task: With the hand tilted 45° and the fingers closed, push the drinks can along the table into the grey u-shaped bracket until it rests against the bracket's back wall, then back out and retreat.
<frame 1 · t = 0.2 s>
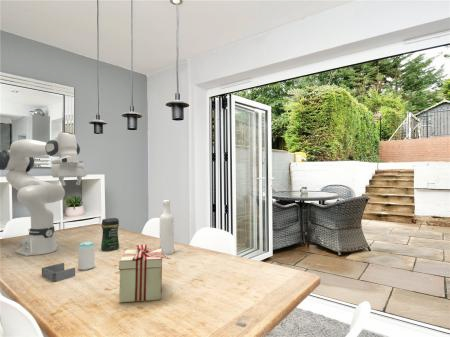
hand: (71, 185, 155), 39 cm above the table, tool pointing down, fingers open, 8 cm apart
coffee jar: (110, 249, 167), on the table
gift box: (145, 292, 108), on the table
grey u-shaped bracket: (59, 275, 125), on the table
bottle: (166, 253, 158), on the table
can: (86, 268, 135), on the table
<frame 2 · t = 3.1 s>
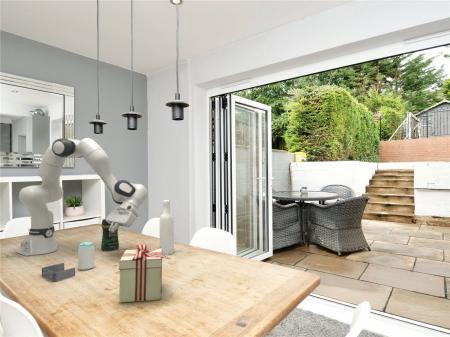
hand: (110, 231, 145), 16 cm above the table, tool tilted 45°, fingers closed
nothing on the table moved.
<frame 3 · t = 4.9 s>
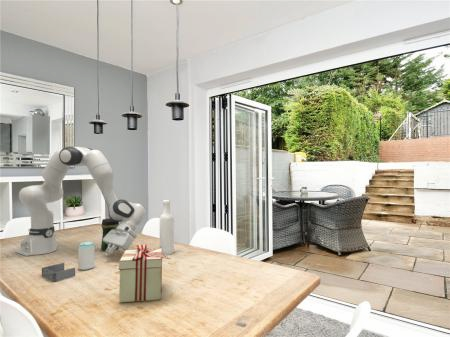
hand: (107, 252, 143), 5 cm above the table, tool tilted 45°, fingers closed
nothing on the table moved.
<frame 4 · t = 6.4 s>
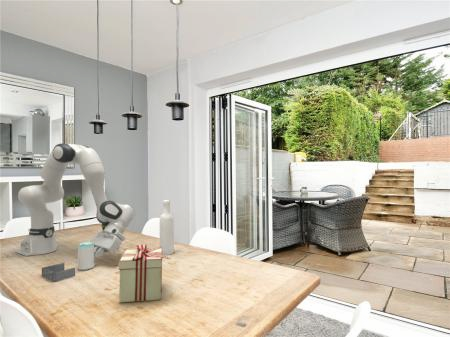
hand: (94, 256, 138), 5 cm above the table, tool tilted 45°, fingers closed, pressing on can
can: (86, 268, 134), on the table, touching gripper
everything else where it was.
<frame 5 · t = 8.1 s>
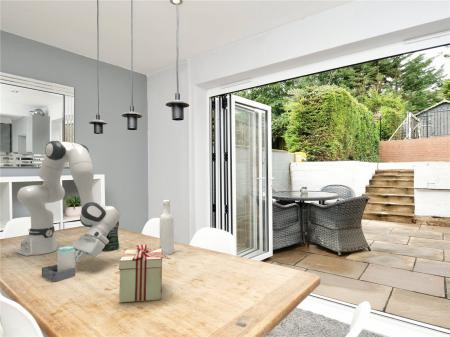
hand: (75, 260, 131), 5 cm above the table, tool tilted 45°, fingers closed, pressing on can
can: (66, 274, 127), resting in grey u-shaped bracket, touching gripper
everything else where it was.
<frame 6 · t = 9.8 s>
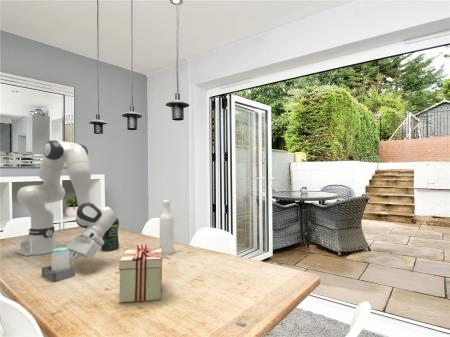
hand: (70, 262, 129), 5 cm above the table, tool tilted 45°, fingers closed
can: (60, 276, 125), resting in grey u-shaped bracket
everything else where it was.
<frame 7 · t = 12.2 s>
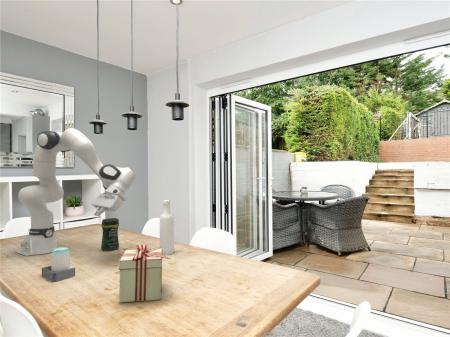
hand: (96, 215, 140), 25 cm above the table, tool tilted 45°, fingers closed
nothing on the table moved.
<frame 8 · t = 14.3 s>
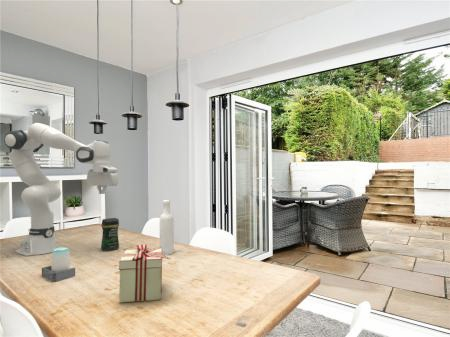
hand: (101, 193, 156), 34 cm above the table, tool pointing down, fingers closed
nothing on the table moved.
at the end: can 0.5 cm off-centre on the grey u-shaped bracket, point 0.0 cm above the grey u-shaped bracket's base; can tilted 0°; the gripper is holding nothing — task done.
